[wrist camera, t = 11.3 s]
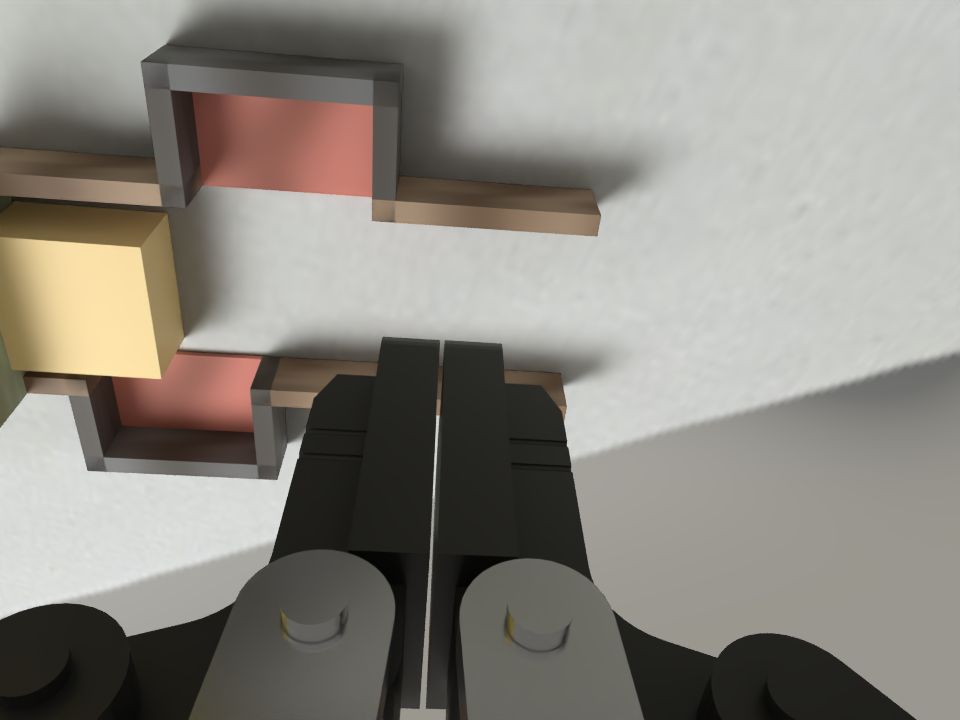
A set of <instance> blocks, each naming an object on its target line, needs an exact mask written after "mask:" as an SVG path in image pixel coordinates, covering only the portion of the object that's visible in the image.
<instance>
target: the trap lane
mask: <svg viewBox="0 0 960 720" xmlns="http://www.w3.org/2000/svg"><path fill="white" fill-rule="evenodd" d="M141 68H142V74H143V81H144V88H145V95H146V101H147V108H148V115H149V122H150V128H151V135H152V142H153V149H154V155H155V158H143V157H129V156H115V155H101V154H87V153H73V152H60V151H46V150H32V149H18V148H4V147H0V213H1V212H2V211H3V210H5V209H6V208H7V207H8V206H9V205H11V204H12V203H13V202H12V198H11V196H16V197H31V198H45V199H60V200H74V201H89V202H104V203H118V204H133V205H147V206H162V207H176V208H186V207H187V206H188V204H189V203H190V202H191V200H192V199H193V198H194V196H195V195H196V194H197V192H198V191H199V190H200V188H201V187H202V186H203V185H208V186H222V187H237V188H251V189H265V190H279V191H293V192H307V193H322V194H336V195H350V196H364V197H372V221H380V222H395V223H409V224H424V225H438V226H453V227H467V228H482V229H497V230H511V231H526V232H540V233H555V234H569V235H584V236H597V235H598V230H599V224H600V219H601V214H600V211H599V209H598V206H597V203H596V200H595V198H594V195H593V192H592V190H585V189H571V188H557V187H543V186H529V185H515V184H502V183H488V182H474V181H460V180H446V179H433V178H419V177H405V176H400V156H401V120H402V84H403V64H394V63H382V62H370V61H357V60H345V59H333V58H320V57H308V56H296V55H284V54H271V53H259V52H247V51H234V50H222V49H210V48H197V47H185V46H173V45H164V46H162V47H161V48H160V49H158V50H157V51H155V52H154V53H152V54H151V55H150V56H148V57H147V58H145V59H144V60H143V61H141ZM377 366H378V363H372V362H355V361H337V360H320V359H303V358H285V357H268V356H251V355H233V354H216V353H198V352H181V351H177V352H176V354H175V356H174V357H173V359H172V361H171V363H170V365H169V366H168V368H167V370H166V372H165V374H164V375H163V377H162V379H150V378H134V377H118V376H103V375H87V374H71V373H55V372H39V371H23V370H11V366H10V363H9V359H8V356H7V352H6V349H5V345H4V342H3V338H2V335H1V331H0V427H1V426H2V425H3V424H4V422H5V421H6V420H7V418H8V417H9V416H10V415H11V413H12V412H13V411H14V409H15V408H16V407H17V406H18V404H19V403H20V402H21V401H22V399H23V398H24V397H25V395H26V394H27V393H34V394H53V395H69V399H70V403H71V407H72V411H73V415H74V419H75V423H76V427H77V430H78V434H79V438H80V442H81V446H82V450H83V454H84V458H85V462H86V466H87V470H88V471H102V472H123V473H144V474H165V475H186V476H206V477H227V478H248V479H269V480H277V479H278V475H279V472H280V468H281V465H282V461H283V458H284V454H285V451H286V447H287V432H286V417H285V407H295V408H311V407H312V403H313V399H314V397H315V396H316V395H317V394H318V393H319V392H320V391H321V390H322V389H323V388H324V387H325V386H326V385H327V384H328V383H329V382H330V381H331V380H332V379H333V378H334V377H335V376H336V375H337V374H348V375H365V376H376V373H377ZM442 372H443V367H442V366H439V368H438V389H437V410H436V415H440V402H441V387H442ZM504 376H505V383H511V384H528V385H541V386H542V387H543V388H544V389H545V391H546V392H547V393H548V394H549V396H550V397H551V398H552V400H553V401H554V402H555V403H556V405H557V406H558V407H559V408H560V410H561V411H562V414H563V420H564V419H565V414H566V408H567V405H566V400H565V394H564V389H563V384H562V378H561V373H546V372H529V371H511V370H504Z"/></svg>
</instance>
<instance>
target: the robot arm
mask: <svg viewBox="0 0 960 720" xmlns="http://www.w3.org/2000/svg"><path fill="white" fill-rule="evenodd" d="M439 346H440V340H427V339H410V338H393V337H383V338H382V342H381V348H380V354H379V360H378V366H377V373H376V376H365V375H348V374H337V375H336V376H335V377H334V378H333V379H332V380H331V381H330V382H329V383H328V384H327V385H326V386H325V387H324V388H323V389H322V390H321V391H320V392H319V393H318V394H317V395H316V396H315V397H314V399H313V403H312V407H311V410H310V414H309V418H308V422H307V425H306V433H305V434H304V437H303V440H302V444H301V448H300V452H299V459H297V463H296V467H295V470H294V474H293V478H292V482H291V485H290V489H289V493H288V497H287V500H286V504H285V508H284V512H283V515H282V519H281V523H280V527H279V530H278V534H277V538H276V542H275V545H274V549H273V553H272V556H271V559H270V561H269V564H268V565H267V566H265V567H264V568H262V569H261V570H260V571H258V572H257V573H256V574H255V575H254V576H253V577H252V578H251V579H250V580H249V581H248V582H247V583H246V584H245V586H244V587H243V588H242V590H241V591H240V593H239V595H238V597H237V599H236V601H235V602H234V603H232V604H231V605H229V606H227V607H225V608H224V609H222V610H220V611H218V612H216V613H214V614H211V615H209V616H207V617H204V618H202V619H198V620H195V621H191V622H188V623H185V624H180V625H176V626H172V627H167V628H163V629H159V630H155V631H150V632H146V633H142V634H138V635H133V636H129V637H126V635H125V633H124V631H123V629H122V627H121V626H120V625H119V624H118V623H117V621H116V620H114V619H113V618H112V617H111V616H109V615H108V614H107V613H105V612H103V611H101V610H98V609H96V608H93V607H89V606H85V605H81V604H69V603H64V604H50V605H44V606H39V607H34V608H31V609H27V610H24V611H21V612H18V613H15V614H13V615H11V616H8V617H6V618H3V619H1V620H0V720H400V709H401V708H413V709H419V708H420V692H421V678H422V662H423V647H424V632H425V617H426V603H427V587H428V573H429V558H430V537H431V517H432V496H433V474H434V453H435V432H436V410H437V389H438V368H439ZM426 696H427V697H426V708H427V709H446V720H916V719H915V718H914V717H912V716H911V715H910V714H909V713H907V712H906V711H905V710H903V709H902V708H901V707H900V706H898V705H897V704H896V703H894V702H893V701H892V700H891V699H889V698H888V697H887V696H885V695H884V694H883V693H882V692H880V691H879V690H878V689H876V688H875V687H874V686H873V685H871V684H870V683H869V682H867V681H866V680H865V679H864V678H862V677H861V676H860V675H858V674H857V673H856V672H854V671H853V670H852V669H851V668H849V667H848V666H847V665H845V664H844V663H843V662H842V661H840V660H839V659H837V658H836V657H834V656H833V655H832V654H830V653H828V652H827V651H825V650H823V649H821V648H819V647H817V646H815V645H814V644H811V643H809V642H806V641H804V640H801V639H798V638H794V637H791V636H787V635H781V634H773V633H766V634H765V633H763V634H761V633H760V634H754V635H748V636H745V637H743V638H740V639H738V640H736V641H734V642H732V643H731V644H729V645H728V646H727V647H726V648H725V649H724V650H723V651H722V652H721V654H720V655H719V657H718V658H716V657H713V656H710V655H707V654H704V653H701V652H698V651H695V650H691V649H688V648H685V647H682V646H679V645H676V644H673V643H670V642H667V641H664V640H661V639H659V638H656V637H654V636H651V635H649V634H647V633H645V632H643V631H641V630H639V629H637V628H636V627H634V626H633V625H631V624H629V623H628V622H627V621H625V620H624V619H623V618H621V617H620V616H619V615H618V614H617V613H616V612H615V611H613V610H612V608H611V606H610V604H609V602H608V601H607V599H606V597H605V596H604V594H603V593H602V592H601V591H600V590H599V589H598V588H597V586H596V585H595V584H594V582H593V580H592V578H591V574H590V570H589V566H588V560H587V554H586V548H585V543H584V538H583V532H582V525H581V519H580V514H579V508H578V502H577V496H576V490H575V484H574V479H573V473H572V472H571V461H570V455H569V449H568V447H567V438H566V432H565V426H564V420H563V414H562V411H561V410H560V408H559V407H558V406H557V405H556V403H555V402H554V401H553V400H552V398H551V397H550V396H549V394H548V393H547V392H546V391H545V389H544V388H543V387H542V386H541V385H528V384H511V383H505V376H504V363H503V350H502V344H497V343H481V342H464V341H447V340H445V344H444V357H443V372H442V387H441V402H440V417H439V432H438V448H437V465H436V485H435V509H434V532H433V555H432V579H431V602H430V626H429V648H428V672H427V695H426Z"/></svg>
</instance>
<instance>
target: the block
mask: <svg viewBox="0 0 960 720" xmlns="http://www.w3.org/2000/svg"><path fill="white" fill-rule="evenodd" d="M0 331H1V335H2V338H3V342H4V345H5V349H6V352H7V356H8V359H9V363H10V366H11V370H23V371H39V372H55V373H71V374H87V375H103V376H118V377H134V378H150V379H162V377H163V375H164V374H165V372H166V370H167V368H168V366H169V365H170V363H171V361H172V359H173V357H174V356H175V354H176V352H177V350H178V348H179V347H180V345H181V343H182V341H183V339H184V332H183V324H182V317H181V310H180V302H179V295H178V288H177V280H176V273H175V266H174V258H173V251H172V244H171V236H170V229H169V222H168V214H167V213H161V212H148V211H134V210H121V209H108V208H95V207H81V206H68V205H55V204H42V203H29V202H15V201H14V202H13V203H12V204H11V205H9V206H8V207H7V208H6V209H5V210H3V211H2V212H1V213H0Z"/></svg>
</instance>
